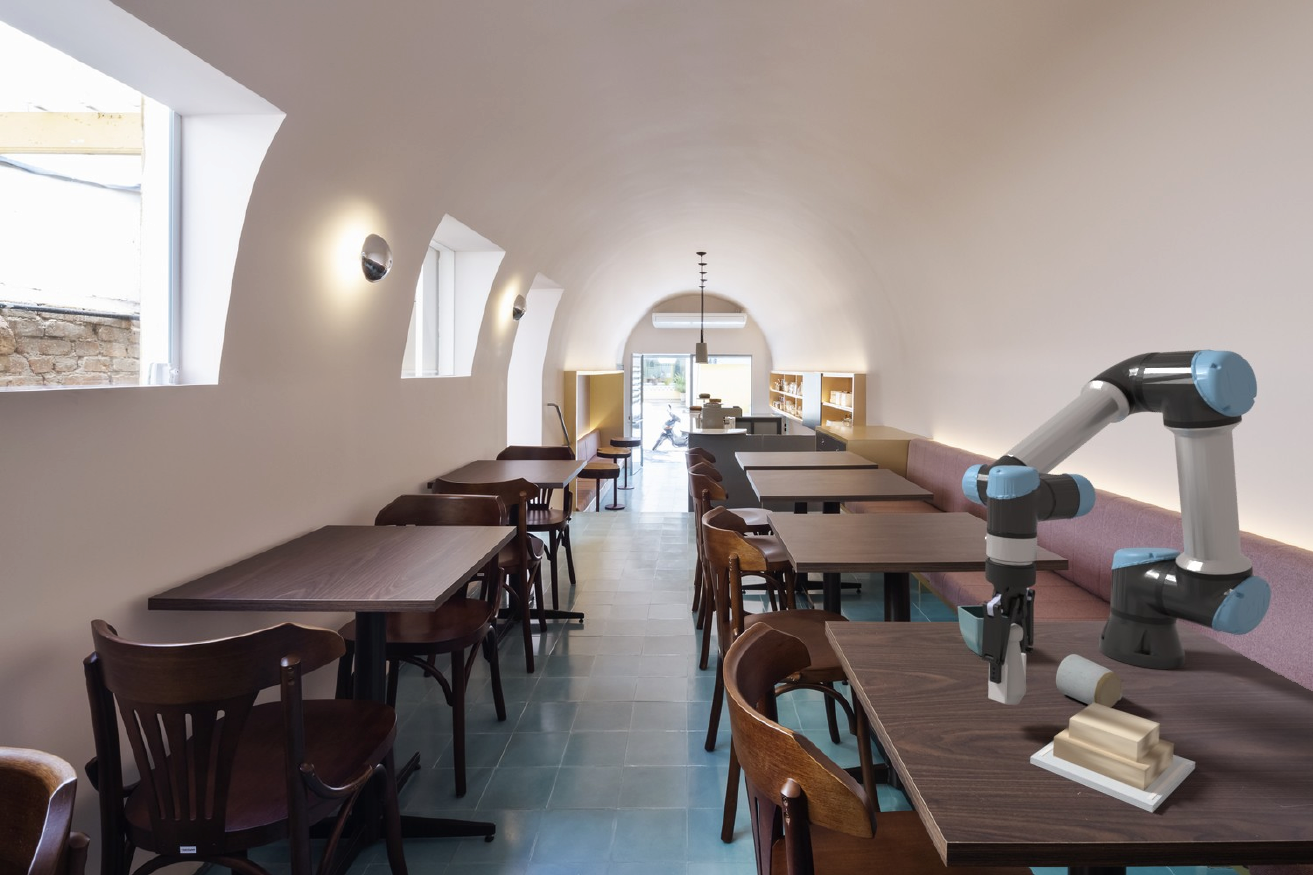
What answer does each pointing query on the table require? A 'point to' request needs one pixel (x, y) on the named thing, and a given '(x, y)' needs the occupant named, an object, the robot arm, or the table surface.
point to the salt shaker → (1015, 667)
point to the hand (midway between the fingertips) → (1006, 694)
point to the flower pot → (972, 626)
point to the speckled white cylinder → (1088, 681)
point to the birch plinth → (1115, 762)
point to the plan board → (1114, 788)
